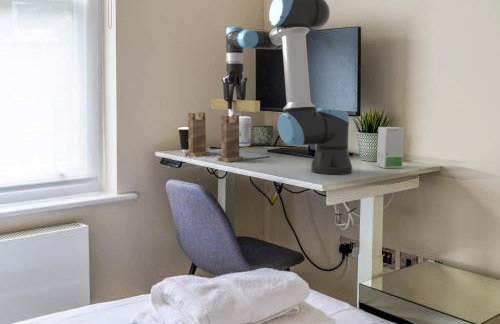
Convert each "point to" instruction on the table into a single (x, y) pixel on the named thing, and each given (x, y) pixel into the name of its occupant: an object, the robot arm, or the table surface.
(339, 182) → the table surface
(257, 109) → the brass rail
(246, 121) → the supplement tub
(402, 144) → the skincare box
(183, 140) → the dixie cup
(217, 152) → the charcoal rubber mat
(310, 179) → the table surface
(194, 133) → the walnut rail stand
